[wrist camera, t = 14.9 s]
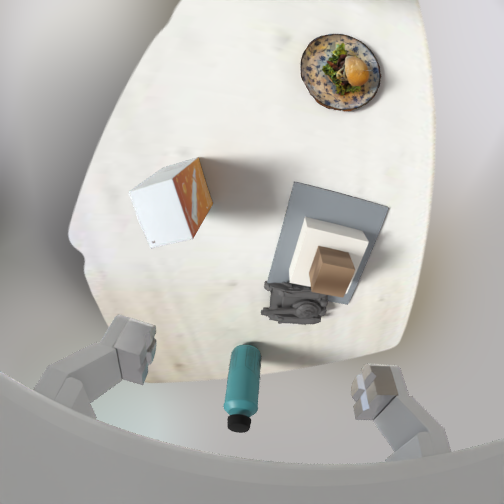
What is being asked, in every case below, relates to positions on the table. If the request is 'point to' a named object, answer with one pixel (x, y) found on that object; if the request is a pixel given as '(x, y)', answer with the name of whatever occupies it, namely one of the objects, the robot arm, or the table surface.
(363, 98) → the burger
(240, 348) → the beverage bottle
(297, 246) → the white plinth
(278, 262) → the plain slate board
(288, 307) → the tank toy
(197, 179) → the small box
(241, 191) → the table surface
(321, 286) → the walnut block
